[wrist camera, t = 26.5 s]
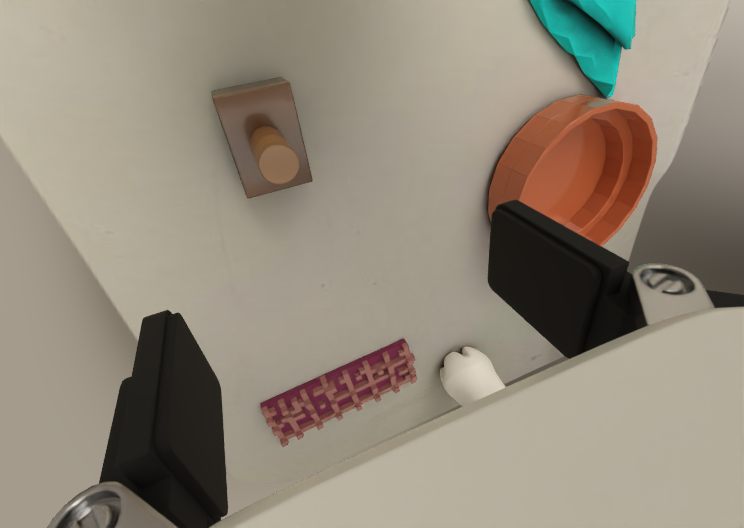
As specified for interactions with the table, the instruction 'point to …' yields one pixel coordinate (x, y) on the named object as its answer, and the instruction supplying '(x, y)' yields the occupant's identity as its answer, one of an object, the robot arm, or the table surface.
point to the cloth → (591, 34)
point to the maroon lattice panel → (339, 391)
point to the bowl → (580, 164)
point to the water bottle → (469, 376)
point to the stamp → (263, 135)
